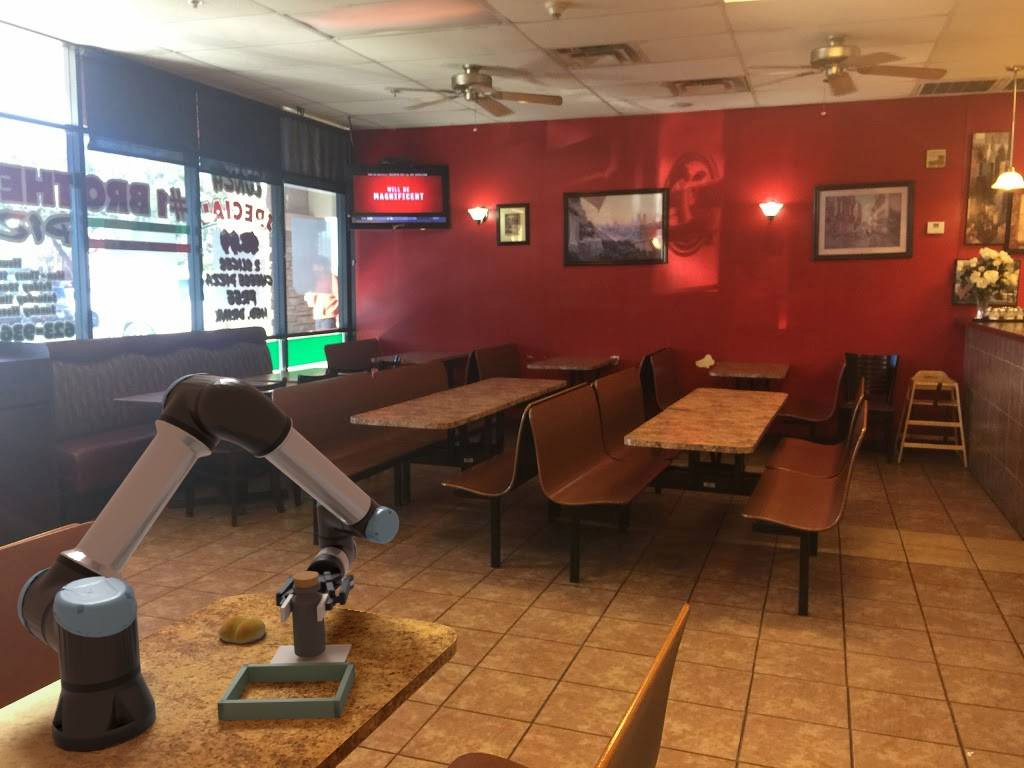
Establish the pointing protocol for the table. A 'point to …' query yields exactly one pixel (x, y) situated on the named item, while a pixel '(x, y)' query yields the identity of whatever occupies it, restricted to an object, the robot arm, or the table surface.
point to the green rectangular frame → (287, 707)
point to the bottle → (307, 615)
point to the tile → (329, 655)
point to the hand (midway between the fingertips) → (301, 614)
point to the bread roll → (242, 629)
